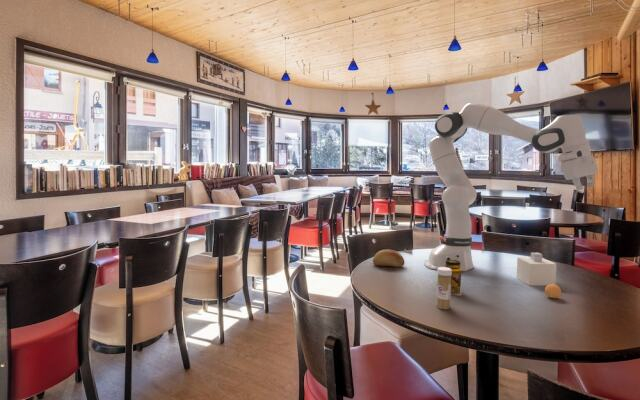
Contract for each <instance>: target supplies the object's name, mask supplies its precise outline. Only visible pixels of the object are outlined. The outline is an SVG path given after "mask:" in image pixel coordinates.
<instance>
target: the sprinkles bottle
mask: <svg viewBox="0 0 640 400" xmlns="http://www.w3.org/2000/svg"><path fill="white" fill-rule="evenodd" d="M436 272H437V273H436V274H437V288H436V308H438V309H441V310H449V309H450V308H451V296H452V295H451V275H452V269H450V268H447V267H439V268H438V270H436Z"/></svg>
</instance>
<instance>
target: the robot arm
mask: <svg viewBox="0 0 640 400" xmlns="http://www.w3.org/2000/svg"><path fill="white" fill-rule="evenodd" d="M469 128H472V129H474V130H477V131H479V132H482V133H485V134H490V135H497V136H506V137H512V138H515V139H519V140H520V141H521V140H522V141H524V142H526V143H528V144H531V145H532V147H533V148H534V150H536V151H537V152H541V153H543V154H547V155H549V154H555V153H557V152H558V151H560V150H561V151H562V152H561V154H559V155H558V157H557V159H558V162H559V163H560V167H561V171H562V174H563V176H564V178H565V180H566V181H570V180H571V181H572V183H573V185H574V187H575V188H576V189H575V190H576V191H581V190H583V189H584V186H583V184H582V183H581V179H580V178H584V177H586V179H587V182H586V185H587V187H588V188H592V187H595V181H594V180H595V176H594V175H595V174H598V173H599V169H598V165H597V162H596V159H595V158H594V156H593V155H592V152H591V151H592V150H591V147H590V144H589V141H588V139H587V137H586V135H587V134H586V133H587V132H586V128H585V125H584V122H583V120H582V118H581V116H580V115H578V114H576V113H567V114H561V115H558V116H556V117H555V118H554V120H553V121H551V122H550V123H549V124H547V125H546V126H545V127H543V128H541V129H538V128H534V127H532V126H530V125H529V126H528V125H525V124H523V123H520V122H518V121H517V120H515V119H514V118H512V117H511V116H509V115H508V114H507V113H505V112H503V111H501V110H500V109H498V108H495V107H492V106H490V105H486V104H482V103H475V102H468V103H466V104H465V105H464V106H462V108H461V110H460V112H459V111H454V112H448V113H444V114H441V115H440V116H438V118H436V120H435V123H434V130H435V132H436V133H437V135H436V136H434V137H433V138H431V140H430V141H429V142H428V148H429V153H430V156H431V160H432V162H433V164H434V167H435V170H436V174H437V175H438V178H439V179H440V180H441V181H442V182H443V184H444V186H445V187H446V188H445V189H444V190H443V191H442V192H441V193H442V194H441V202H442V203H443V205H444V213H445V217H446V218H445V219H446V224H445V225H446V226H445V227H446V228H445V229H446V230H445V233H446V234H445V235H444V236H443V235H440V236H439V237H438V240H440V241H441V244H439V245H437V246H436V247H435V248H433V249H432V250H431V251H430V252H429V255H428V259H425V260H424V261H423V264H424V266H425V267H426V268H427V269H431V270H436V271H437V270H438V268H439V267H445V264H446V260H458V261H460V268H461V272H468V271H469V270H471V269H474V267H475V266H474V262H473V258H472V257H473V256H472V247H473V238H472V223H473V222H472V219H471V215H470V214H471V213H470V210H469V209H470V208H469V207H470V206H471V205H473V203H474V202H475V201H476V200H477V195H478V193H477V190H476V188H475V187H474V186H473V184H472V182H471V180H470V179H469V176H467V174H466V172H465V170H464V169H463V167H462V164H461V162H460V160H459V157H458V155H457V152H456V150H455V147H454V143H456V142H458V141H459V140H460V139H461V138H463V137H464V136H465V135H466V133H467V132H468V131H467V130H468V129H469Z"/></svg>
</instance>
